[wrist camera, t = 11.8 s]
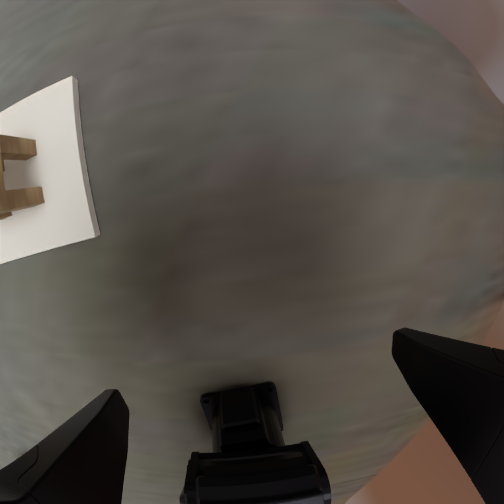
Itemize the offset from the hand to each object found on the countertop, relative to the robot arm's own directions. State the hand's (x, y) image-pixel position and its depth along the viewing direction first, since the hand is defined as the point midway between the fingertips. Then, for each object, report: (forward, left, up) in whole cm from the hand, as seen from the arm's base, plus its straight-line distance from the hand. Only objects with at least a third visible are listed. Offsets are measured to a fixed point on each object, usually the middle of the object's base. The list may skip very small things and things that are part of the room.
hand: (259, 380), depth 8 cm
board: (+10, +15, -13) cm, 22 cm away
